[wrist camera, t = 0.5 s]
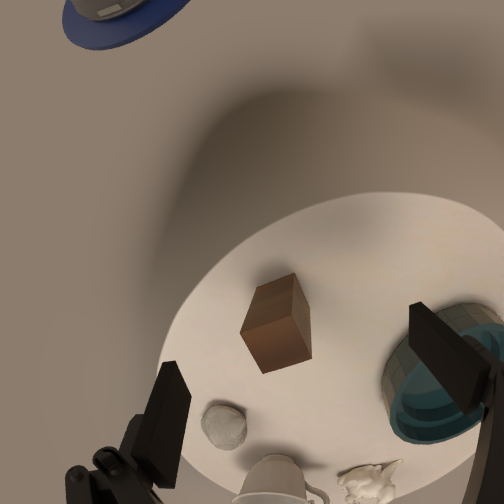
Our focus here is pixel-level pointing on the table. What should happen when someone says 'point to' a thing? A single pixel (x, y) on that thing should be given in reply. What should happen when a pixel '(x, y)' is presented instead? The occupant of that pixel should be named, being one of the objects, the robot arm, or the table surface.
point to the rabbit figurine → (369, 483)
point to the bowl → (435, 382)
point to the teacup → (276, 483)
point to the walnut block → (278, 325)
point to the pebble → (224, 427)
